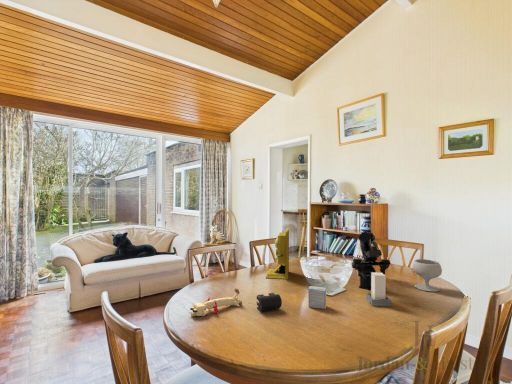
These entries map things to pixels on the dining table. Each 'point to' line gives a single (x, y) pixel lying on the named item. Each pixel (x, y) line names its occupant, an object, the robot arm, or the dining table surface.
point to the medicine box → (317, 297)
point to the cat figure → (214, 304)
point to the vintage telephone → (281, 257)
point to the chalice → (427, 273)
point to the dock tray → (378, 301)
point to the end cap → (269, 302)
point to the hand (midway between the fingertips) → (374, 278)
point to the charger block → (378, 285)
